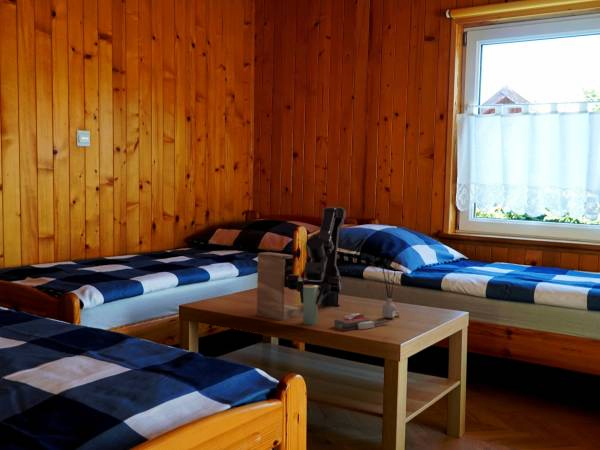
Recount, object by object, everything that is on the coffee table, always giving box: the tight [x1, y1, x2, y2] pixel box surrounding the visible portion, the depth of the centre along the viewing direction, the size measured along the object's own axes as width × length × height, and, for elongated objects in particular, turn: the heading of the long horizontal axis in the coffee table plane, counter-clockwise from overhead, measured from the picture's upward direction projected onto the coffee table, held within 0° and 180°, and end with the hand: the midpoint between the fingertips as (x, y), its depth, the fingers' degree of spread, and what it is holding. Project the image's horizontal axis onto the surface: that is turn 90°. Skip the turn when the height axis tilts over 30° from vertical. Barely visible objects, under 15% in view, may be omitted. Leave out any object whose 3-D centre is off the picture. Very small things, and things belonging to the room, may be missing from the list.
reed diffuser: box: [381, 263, 401, 319], centre depth 233 cm, size 10×7×20 cm
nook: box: [256, 251, 303, 321], centre depth 233 cm, size 11×12×22 cm
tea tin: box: [302, 285, 319, 326], centre depth 222 cm, size 5×5×13 cm
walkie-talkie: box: [333, 312, 389, 331], centre depth 220 cm, size 9×4×20 cm
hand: (309, 303), depth 221 cm, fingers closed on tea tin, 5 cm apart
